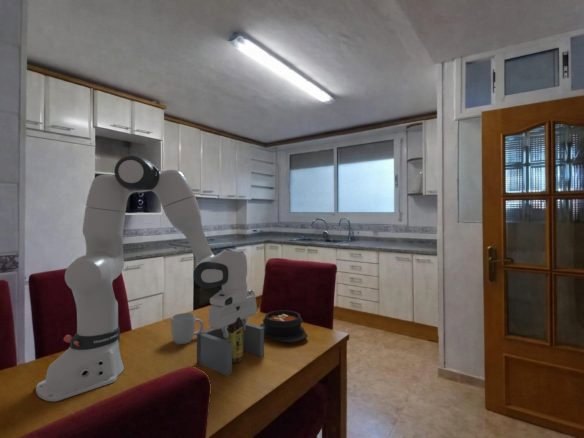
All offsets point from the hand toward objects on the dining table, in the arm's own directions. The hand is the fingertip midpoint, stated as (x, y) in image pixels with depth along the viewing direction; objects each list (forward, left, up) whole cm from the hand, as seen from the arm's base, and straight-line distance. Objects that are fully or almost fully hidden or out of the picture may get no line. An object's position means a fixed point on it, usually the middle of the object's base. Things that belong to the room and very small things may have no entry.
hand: (234, 333), depth 109 cm
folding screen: (0, +1, -9) cm, 9 cm away
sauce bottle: (0, 0, -9) cm, 9 cm away
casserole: (+28, 0, -10) cm, 29 cm away
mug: (+1, +28, -9) cm, 29 cm away
